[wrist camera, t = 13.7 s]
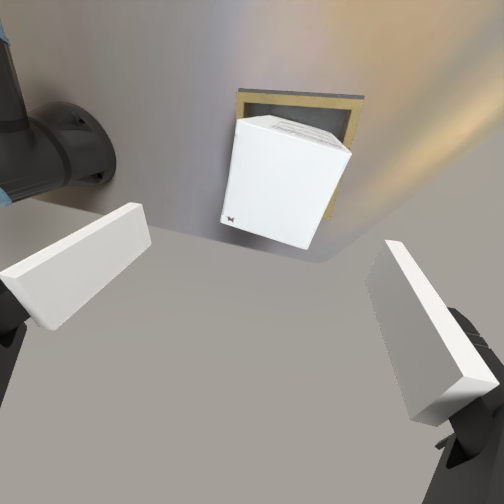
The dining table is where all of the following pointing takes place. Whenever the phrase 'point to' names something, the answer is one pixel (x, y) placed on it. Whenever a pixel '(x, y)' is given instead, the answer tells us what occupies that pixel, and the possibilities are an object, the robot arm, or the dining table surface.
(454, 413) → the robot arm
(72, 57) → the dining table surface
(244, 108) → the gray square bin
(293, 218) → the supplement box
